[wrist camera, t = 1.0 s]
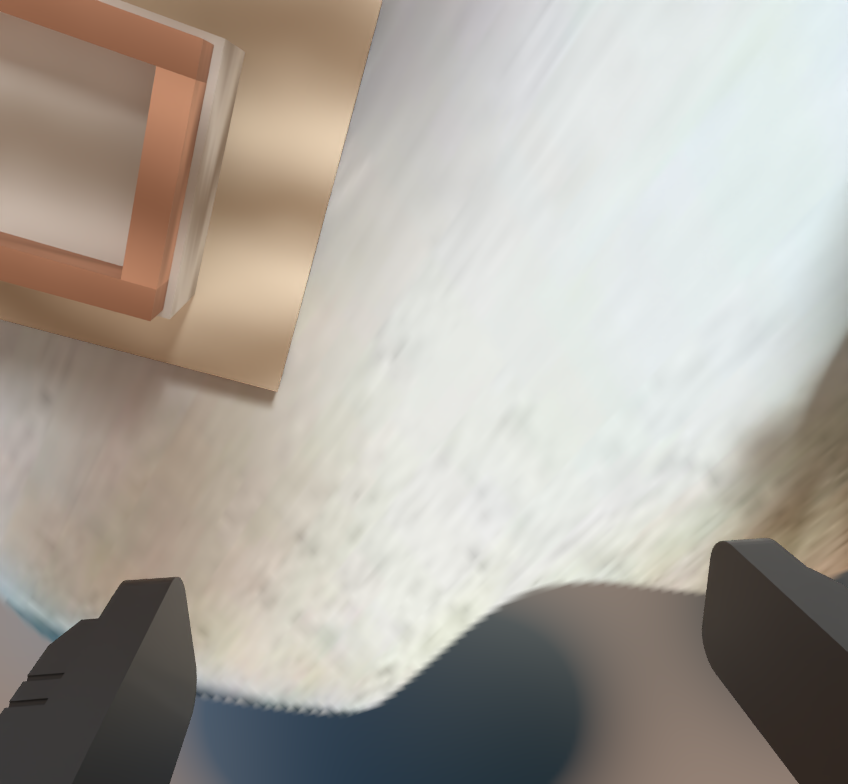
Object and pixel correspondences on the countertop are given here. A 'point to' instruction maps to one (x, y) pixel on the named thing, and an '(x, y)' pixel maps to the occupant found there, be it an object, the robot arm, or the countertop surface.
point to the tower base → (172, 170)
